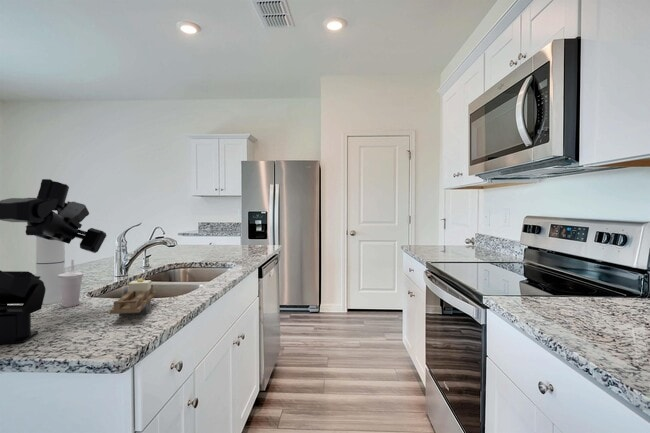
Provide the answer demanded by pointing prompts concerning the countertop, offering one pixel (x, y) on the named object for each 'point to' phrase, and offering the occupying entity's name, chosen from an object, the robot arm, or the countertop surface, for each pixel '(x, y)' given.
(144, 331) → the countertop surface
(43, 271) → the cylindrical container
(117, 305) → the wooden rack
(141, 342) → the countertop surface
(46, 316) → the countertop surface
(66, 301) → the smoothie
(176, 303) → the countertop surface
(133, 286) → the block
